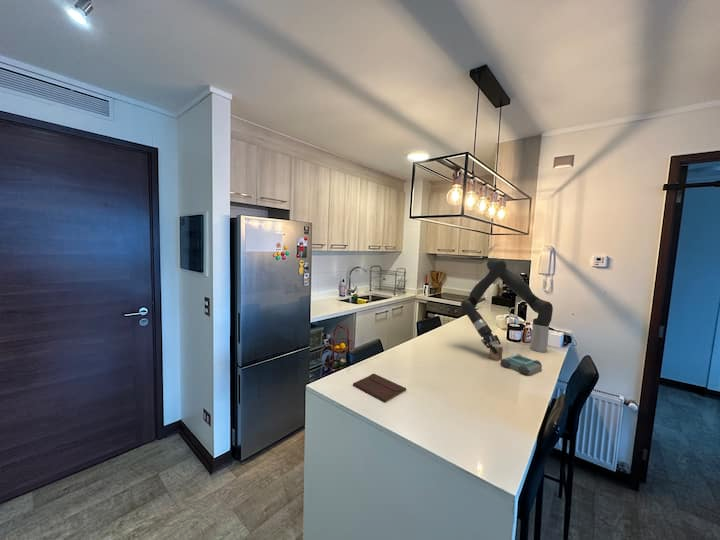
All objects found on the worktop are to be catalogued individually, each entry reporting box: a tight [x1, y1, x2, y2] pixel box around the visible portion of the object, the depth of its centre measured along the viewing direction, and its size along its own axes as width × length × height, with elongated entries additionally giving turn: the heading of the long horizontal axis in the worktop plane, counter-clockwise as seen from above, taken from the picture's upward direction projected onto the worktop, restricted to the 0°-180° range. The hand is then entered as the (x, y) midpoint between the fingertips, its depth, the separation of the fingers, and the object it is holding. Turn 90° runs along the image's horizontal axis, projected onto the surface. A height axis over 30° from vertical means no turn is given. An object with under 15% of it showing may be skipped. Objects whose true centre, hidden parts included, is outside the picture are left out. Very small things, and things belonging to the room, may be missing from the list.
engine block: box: [488, 343, 504, 361], centre depth 175 cm, size 5×5×8 cm
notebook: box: [352, 373, 407, 404], centre depth 134 cm, size 15×20×2 cm
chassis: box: [500, 353, 543, 377], centre depth 163 cm, size 16×16×5 cm
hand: (498, 352), depth 173 cm, fingers closed on engine block, 5 cm apart
